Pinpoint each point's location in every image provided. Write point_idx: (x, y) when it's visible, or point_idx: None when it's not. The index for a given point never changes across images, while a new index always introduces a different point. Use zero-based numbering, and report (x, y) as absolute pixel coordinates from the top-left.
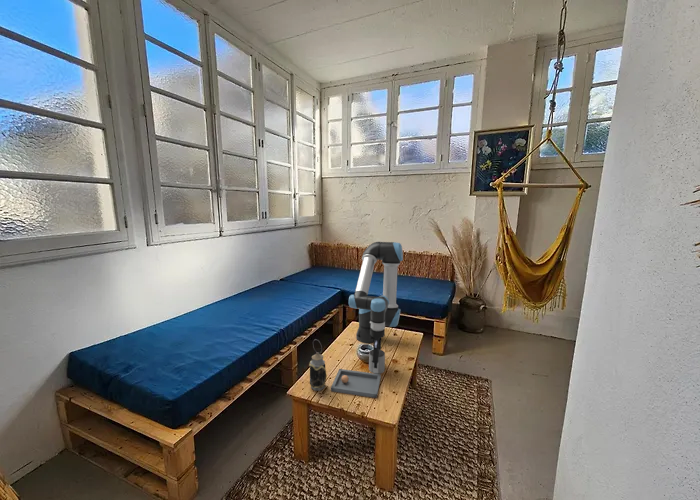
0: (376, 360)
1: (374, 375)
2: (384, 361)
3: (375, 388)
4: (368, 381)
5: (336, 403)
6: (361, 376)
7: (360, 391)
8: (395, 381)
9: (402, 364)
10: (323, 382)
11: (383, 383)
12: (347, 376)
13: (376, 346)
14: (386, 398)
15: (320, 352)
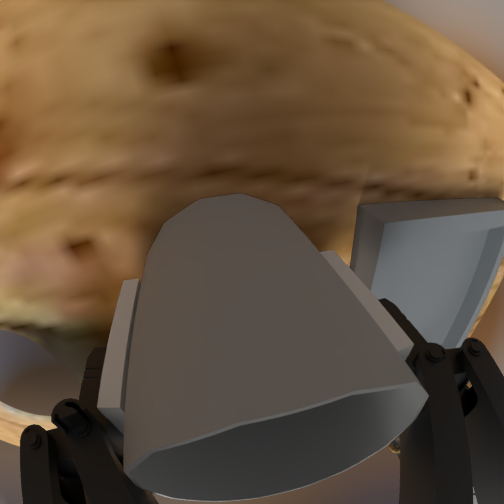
0: (489, 372)
1: (392, 272)
2: (285, 266)
3: (495, 225)
4: (406, 282)
5: (474, 324)
6: None
7: (490, 286)
8: (372, 64)
9: (21, 47)
10: None
11: (410, 172)
12: None
13: None
14: (497, 147)
15: (473, 494)
